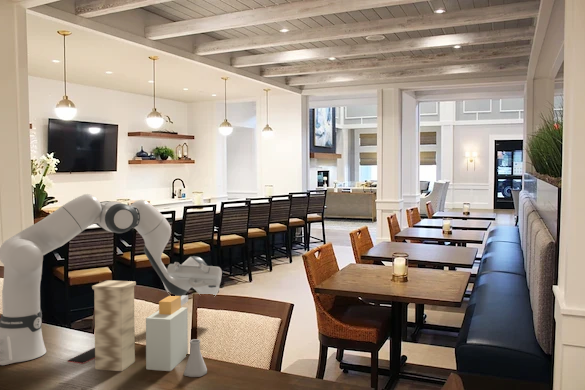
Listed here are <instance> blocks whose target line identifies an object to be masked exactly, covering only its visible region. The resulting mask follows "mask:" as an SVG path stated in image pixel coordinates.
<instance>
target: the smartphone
mask: <svg viewBox="0 0 585 390" xmlns="http://www.w3.org/2000/svg"><path fill="white" fill-rule="evenodd" d="M92 360H95V347H93V348H91V349H89V350H86V351H85V352H83V353H80V354H77V355H76V356H74V357H72V358H69V359H67V362H68V363H73V364H81V365H83V364H86V363H88V362H90V361H92Z"/></svg>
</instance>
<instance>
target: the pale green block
mask: <svg viewBox="0 0 585 390" xmlns="http://www.w3.org/2000/svg"><path fill="white" fill-rule="evenodd" d="M188 311H189V308H188V307H183V306H181V308H180V309H179V310H177V311H176V312H174V313H173V314H171V315H169V314H159V309H158V310H157V311H155V312H153V313H152V314H151V315H149V316H147V317H145V360H146V361H145V362H146V363H145V368H146V369H145V370H149V371H150V370H152V371H163V372H164V371H166V372H171V371H173V370H174V369H175V368H176V367H177V366H178V365H179V364H180V363H181V362H182V361H183V360H184V359H185V358H186V357H187V356H186V354H188V355H189V345H188V344H189V343H188V342H189V338H188V337H189V335H188V334H189V333H188V332H189V331H188V330H189V328H188V327H189V326H188V325H189V324H188V323H189V321H188V320H189V319H188V317H189V316H188V315H189V313H188Z"/></svg>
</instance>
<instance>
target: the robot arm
mask: <svg viewBox="0 0 585 390" xmlns="http://www.w3.org/2000/svg"><path fill="white" fill-rule="evenodd" d="M170 224H171V223H170V222H169V221H168V220H167V218H166V217H165V216H164V215H163V214H162V212H160V211H159V210H158V209H157V208H156V207H155V206H154V205H152V204H151V203H150V202H148V201H147V200H146V199H138V200H136V201H134V202H132V203H131V204H130V205H129V204H126V203H122V202H120V201H113V200H111V201H110V200H105V201H100V200H99V199H98V198H97V197H96V196H94V195H92V194H88V193H87V194H86V193H85V194H82V195H80V196H77V197H75V198H73V199H72V200H69V201H68V202H66V203H65V204H63V205H61V206H60V207H59V208H57V209H55V210H54V211H53V212H51V213H50V214H48V215H47V216H45V217H44V218H43V219H41V220H39V221H37V222H36V223H34V224H32V225H30V226H28V227H26V228H25V229H23V230H21V231H19V232H18V233H16V234H15V235H13V236H11V237H10V238H8V239H6V240H5V241H4V242H3V243H2V244H1V246H0V261H1V263H2V264H3V282H2V283H3V284H2V290H1V294H2V295H1V297H2V300H1V301H2V304H1V305H2V309H1V310H2V314H0V366H5V365H9V364H15V363H21V362H26V361H30V360H34V359H37V358H38V359H39V358H40V357H42V356H43V355H45V354H46V353H47V349H46V346H45V345H46V344H45V341H44V338H43V332H42V331H43V330H42V323H43V319H42V318H43V314H42V313H43V311H42V309H41V281H42V275H43V261H44V256H45V255H47V254H48V253H50V252H52V251H54V250H56V249H58V248H60V247H62V246H64V245H65V244H67V243H68V242H69V241H71V240H72V239H75V237H77V236H78V235H80V234H81V233H82V232H83V231H85V230H86V229H87V228H88V227H90V226H92V225H96V226H97V227H99V228H101V229H103V230H105V231H106V232H111V233H115V234H123V233H127V232H129V231H131V230H132V229H135V230H136V231H137V233H138V234H139V235H140V236H141V237H142V239H143V241H144V247H143V251H144V254H145V256H146V258H147V259H148V261H149V263H150V265H151V266H152V268H153V269H154V271H155V272H156V274H157V275H158V277H159V278H160V280H161V282H162V283H163V286H164V289H165V291H166V292H167V293H168V292H171V293H173V294H175V296H182V295H186V294H187V293H188V292H189V290H190V289H194V291H196V293H197V294H199V295H200V294H213V295H215V296H217V294H218V293H219V291H220V285H221V282H222V276H223V275H222V274H223V270H222V268H221V267H220V266H213V265H209V264H208V263H206V262H205V260H204V259H203V258H201V257H200V256H195V255H193V256H191V255H190V256H189V257H188V258H187V259H186V260H185V261H184V262H182V263H181V264H180V262H178V261H174V263H169V264H168V265H167V267H166V266H165V264H164V262H163V261H162V255H163V253H164V250H165V248H166V246H167V245H168V244H169V241H170V239H171V235H172V227H171V225H170Z"/></svg>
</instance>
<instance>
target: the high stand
mask: <svg viewBox="0 0 585 390" xmlns="http://www.w3.org/2000/svg"><path fill="white" fill-rule="evenodd" d="M136 285H137V282H136V281H132V280H131V281H130V280H129V281H128V280H111V279H110V280H109V279H108V280H104V281H102V282H99V283H96V284H94V285H91V288H92V290H93V291H94V293H93V294H94V297H93V299H94V306H93V307H94V348H95V359H94V360H95V361H94V363H95V364H94V365H95V368H94V369H95V370H100V371H114V372H123V371H125V370H126V369H127V368H128V367H130V366H131V365H133V364H134V363H135V361H136V355H135V354H136V352H135V350H136V347H135V346H136V345H135V344H136V343H135V341H136V340H135V338H136V337H135V336H136V335H135V286H136Z"/></svg>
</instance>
